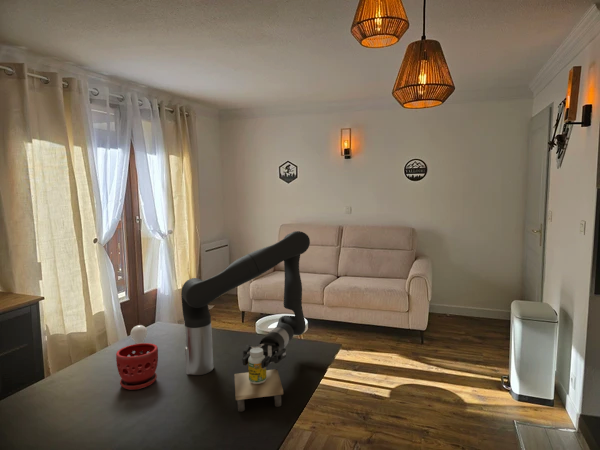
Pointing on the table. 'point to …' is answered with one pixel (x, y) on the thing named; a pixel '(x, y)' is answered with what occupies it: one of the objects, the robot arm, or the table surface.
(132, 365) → the plant pot
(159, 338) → the table surface
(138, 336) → the lightbulb
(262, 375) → the supplement bottle
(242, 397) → the peg shelf
